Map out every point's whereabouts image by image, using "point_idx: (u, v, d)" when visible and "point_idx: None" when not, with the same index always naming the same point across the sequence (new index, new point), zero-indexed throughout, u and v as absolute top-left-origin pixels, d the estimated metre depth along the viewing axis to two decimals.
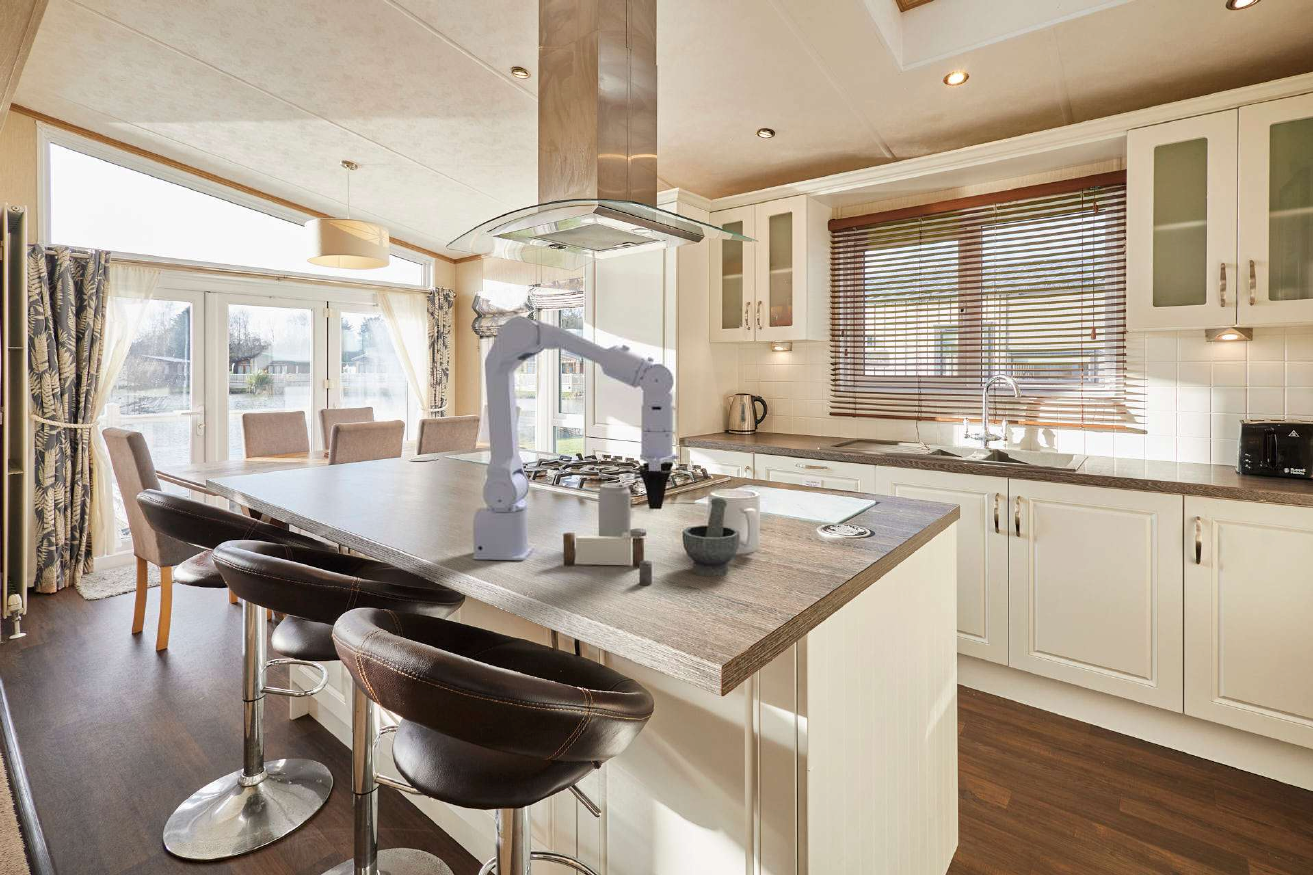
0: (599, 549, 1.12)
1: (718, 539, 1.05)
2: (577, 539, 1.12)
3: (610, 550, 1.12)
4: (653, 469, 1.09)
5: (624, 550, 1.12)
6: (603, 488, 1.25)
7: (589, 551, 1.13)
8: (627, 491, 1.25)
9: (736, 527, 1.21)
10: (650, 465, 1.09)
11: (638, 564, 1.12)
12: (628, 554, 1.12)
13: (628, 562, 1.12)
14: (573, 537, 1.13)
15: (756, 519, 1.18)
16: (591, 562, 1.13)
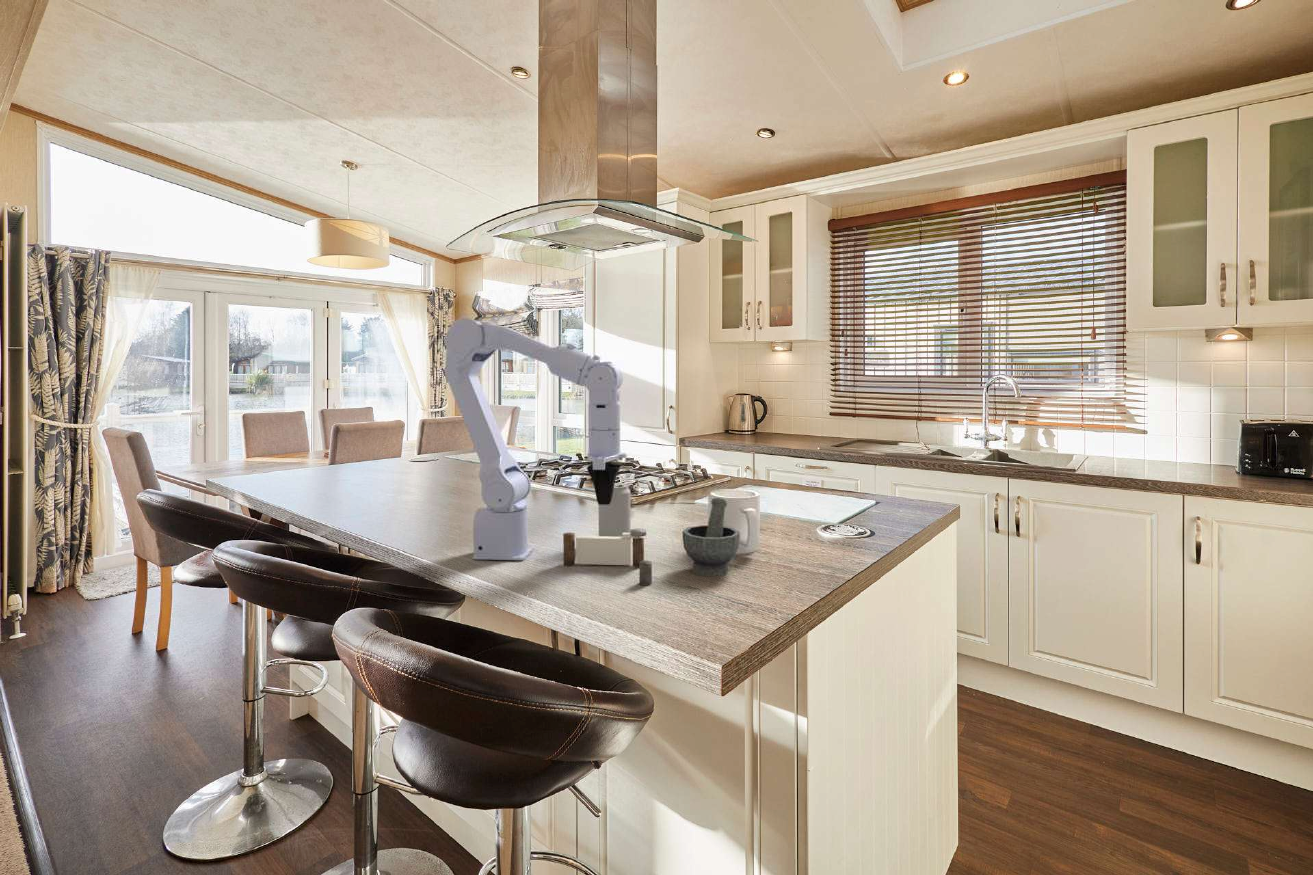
0: (599, 549, 1.12)
1: (718, 539, 1.05)
2: (577, 539, 1.12)
3: (610, 550, 1.12)
4: (597, 468, 1.08)
5: (624, 550, 1.12)
6: None
7: (589, 551, 1.13)
8: (627, 491, 1.25)
9: (736, 527, 1.21)
10: (594, 464, 1.08)
11: (638, 564, 1.12)
12: (628, 554, 1.12)
13: (628, 562, 1.12)
14: (573, 537, 1.13)
15: (756, 519, 1.18)
16: (591, 562, 1.13)
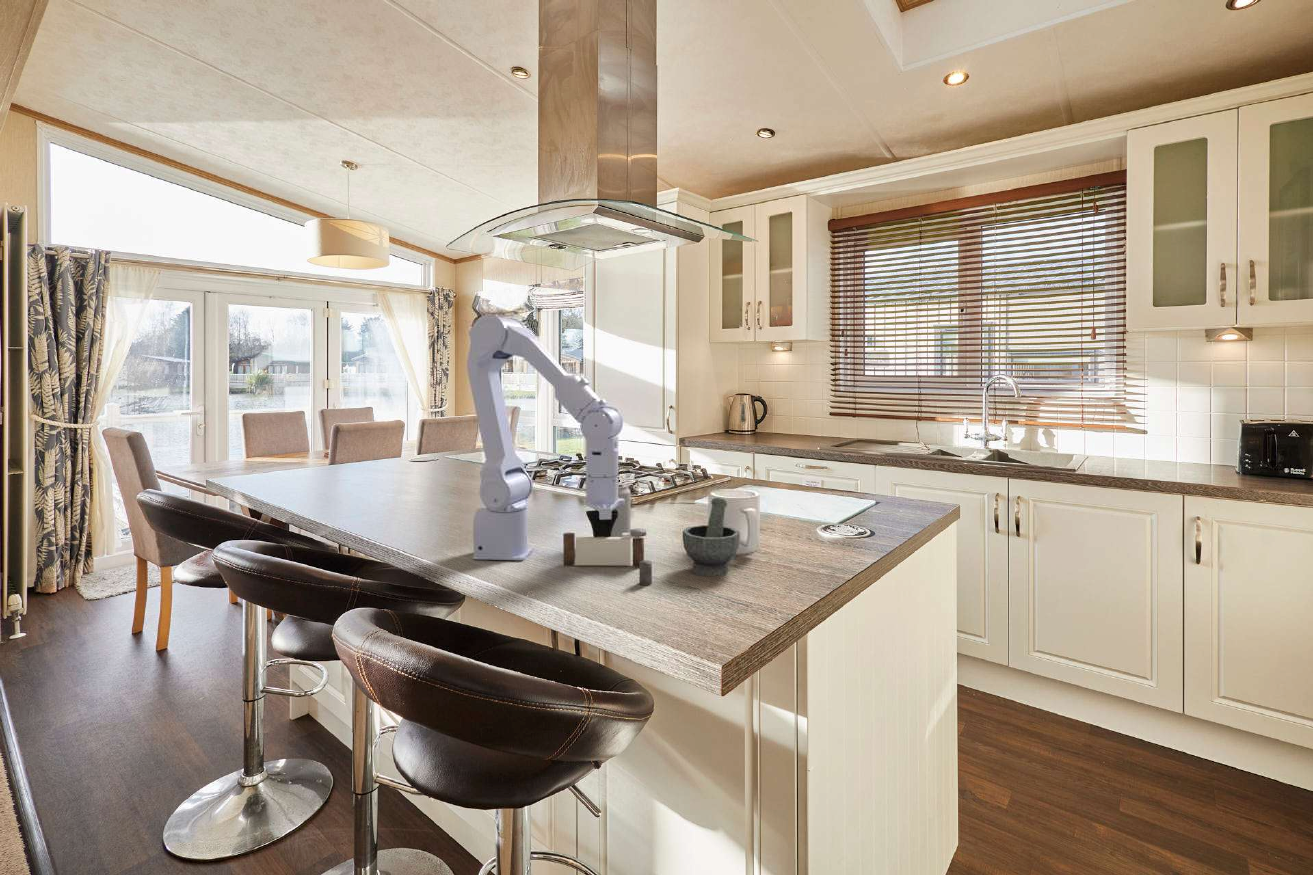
0: (599, 550, 1.12)
1: (718, 539, 1.05)
2: (577, 540, 1.12)
3: (610, 551, 1.12)
4: (604, 518, 1.06)
5: (624, 550, 1.12)
6: None
7: (589, 552, 1.12)
8: (627, 491, 1.25)
9: (736, 527, 1.21)
10: (601, 514, 1.06)
11: (638, 564, 1.12)
12: (628, 554, 1.12)
13: (628, 562, 1.12)
14: (573, 537, 1.13)
15: (756, 519, 1.18)
16: (591, 563, 1.12)
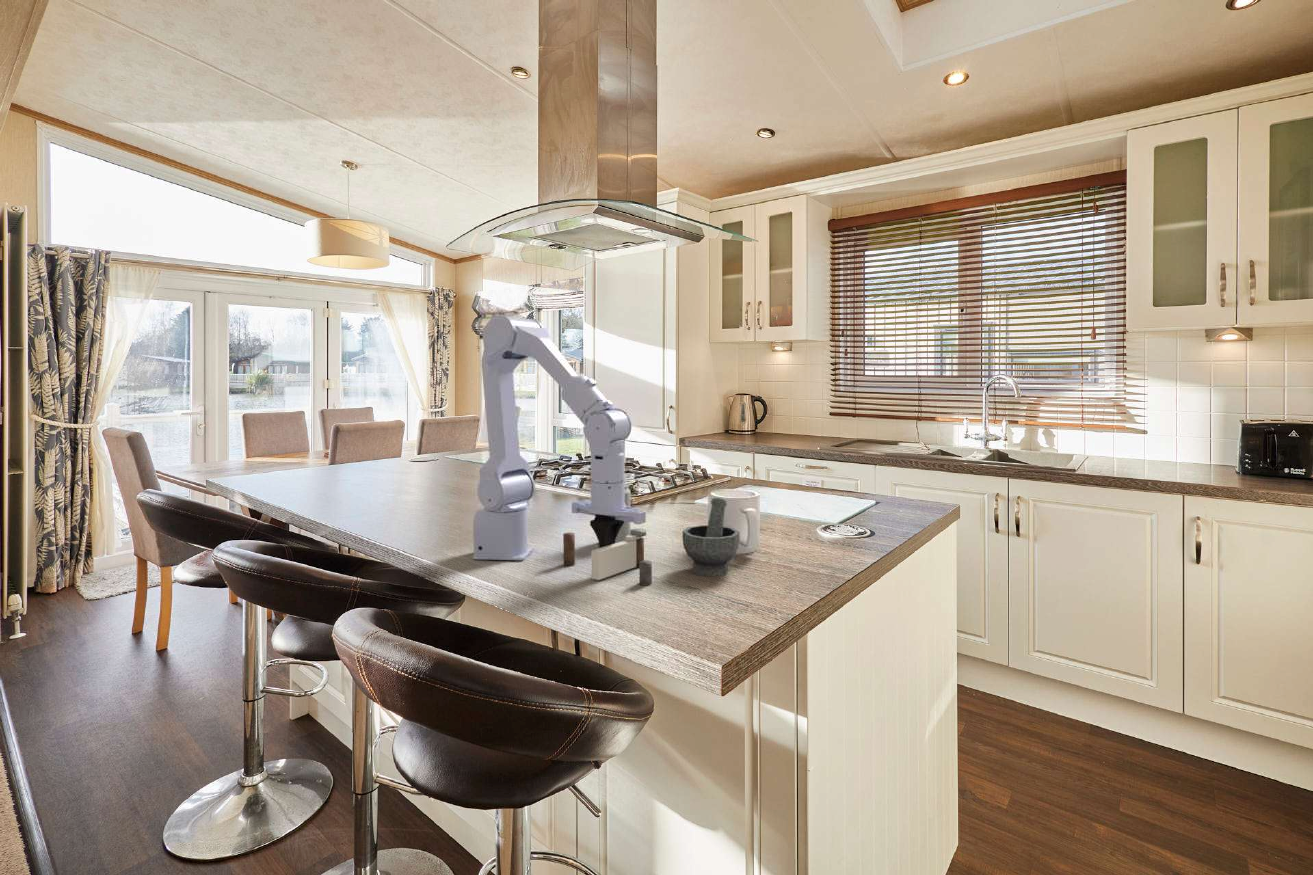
0: (615, 558, 1.07)
1: (718, 539, 1.05)
2: (599, 553, 1.04)
3: (623, 556, 1.09)
4: (641, 522, 1.04)
5: (632, 553, 1.10)
6: None
7: (608, 562, 1.06)
8: (627, 491, 1.25)
9: (736, 527, 1.21)
10: (639, 518, 1.03)
11: (638, 564, 1.12)
12: (635, 556, 1.11)
13: (635, 564, 1.11)
14: (573, 537, 1.13)
15: (756, 519, 1.18)
16: (609, 574, 1.06)
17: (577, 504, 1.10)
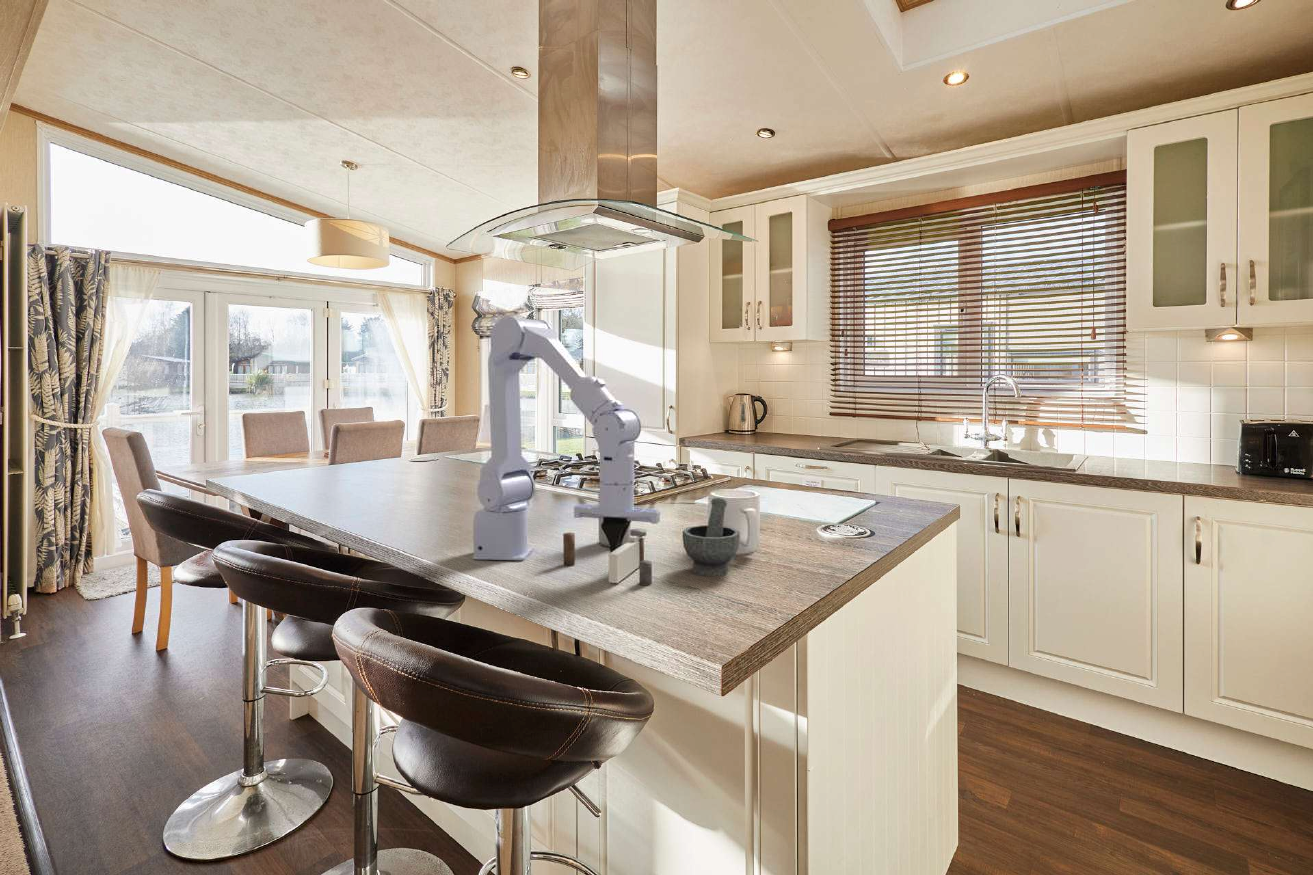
0: (627, 559, 1.06)
1: (718, 539, 1.05)
2: (618, 556, 1.02)
3: (631, 557, 1.08)
4: (658, 521, 1.04)
5: (637, 553, 1.10)
6: None
7: (623, 564, 1.05)
8: None
9: (736, 527, 1.21)
10: (657, 517, 1.04)
11: None
12: (638, 556, 1.11)
13: (638, 564, 1.11)
14: (573, 537, 1.13)
15: (756, 519, 1.18)
16: (623, 576, 1.05)
17: (582, 508, 1.07)
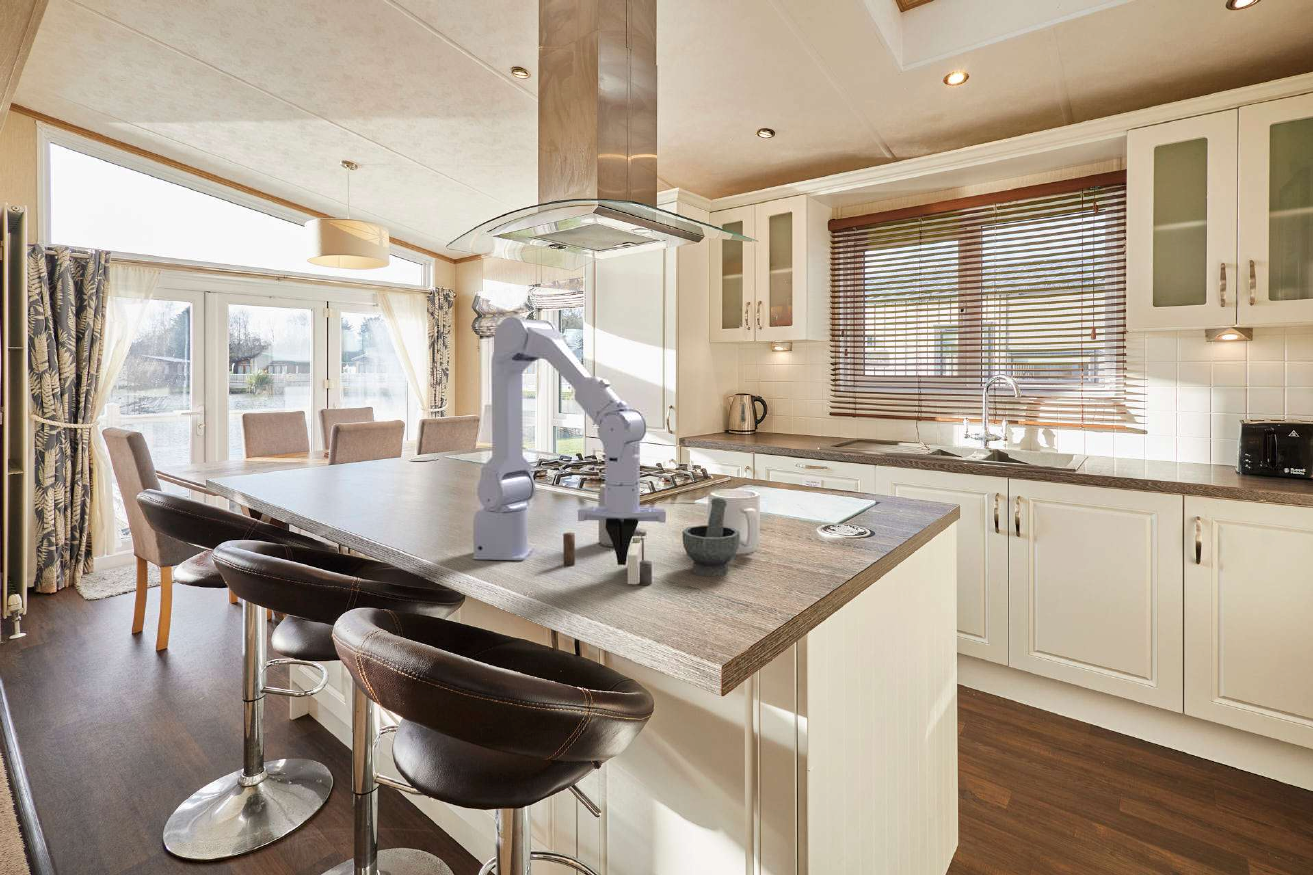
0: (639, 560, 1.06)
1: (718, 539, 1.05)
2: (637, 556, 1.02)
3: (640, 557, 1.08)
4: None
5: (641, 553, 1.10)
6: (603, 488, 1.25)
7: (638, 565, 1.04)
8: None
9: (736, 527, 1.21)
10: (665, 516, 1.05)
11: None
12: (641, 556, 1.11)
13: None
14: (573, 537, 1.13)
15: (756, 519, 1.18)
16: (638, 576, 1.05)
17: (586, 511, 1.05)
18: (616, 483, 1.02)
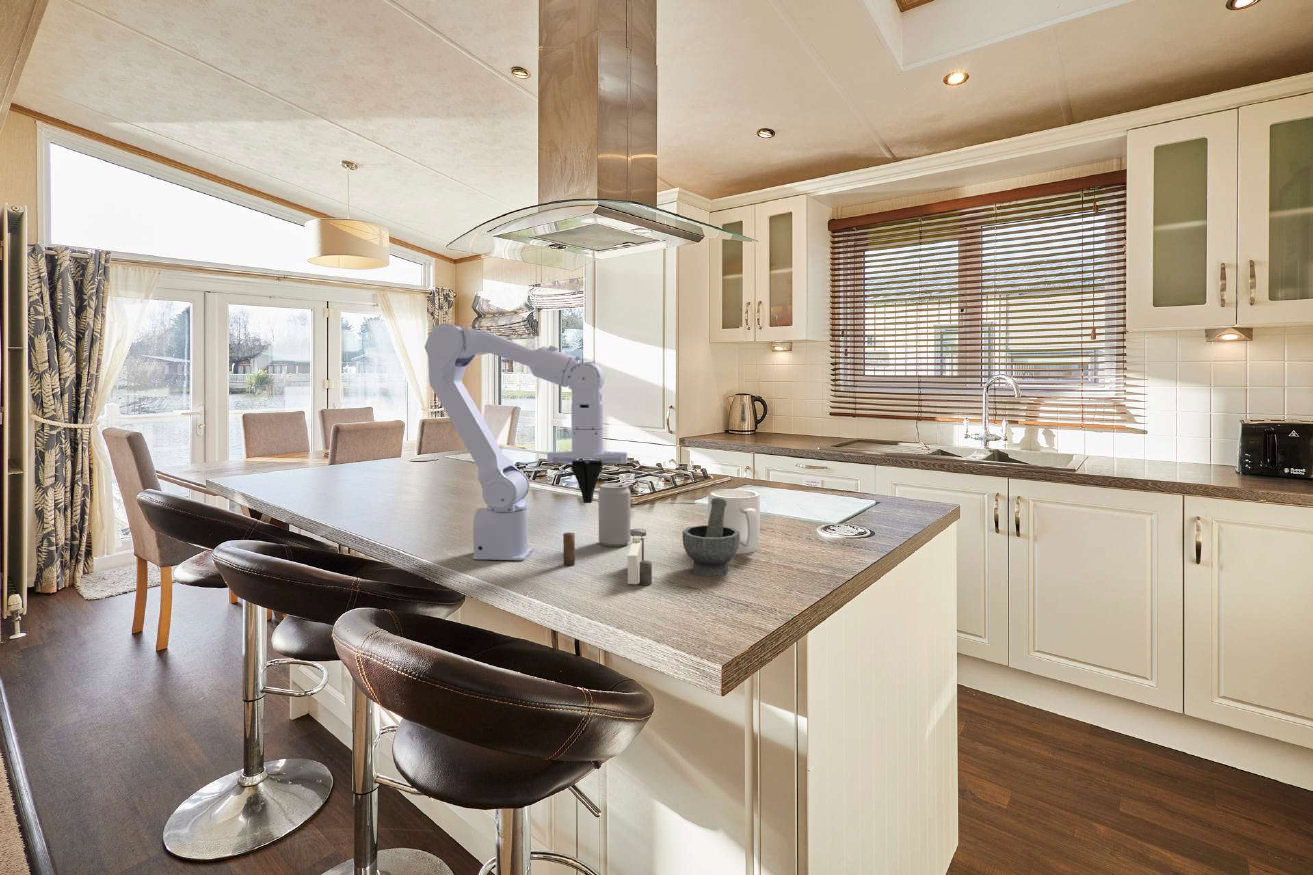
0: (639, 560, 1.06)
1: (718, 539, 1.05)
2: (637, 556, 1.02)
3: (640, 557, 1.08)
4: (626, 462, 1.16)
5: (641, 553, 1.10)
6: (603, 488, 1.25)
7: (638, 565, 1.04)
8: (627, 491, 1.25)
9: (736, 527, 1.21)
10: (626, 458, 1.15)
11: None
12: (641, 556, 1.11)
13: None
14: (573, 537, 1.13)
15: (756, 519, 1.18)
16: (638, 576, 1.05)
17: (555, 454, 1.16)
18: (588, 427, 1.13)
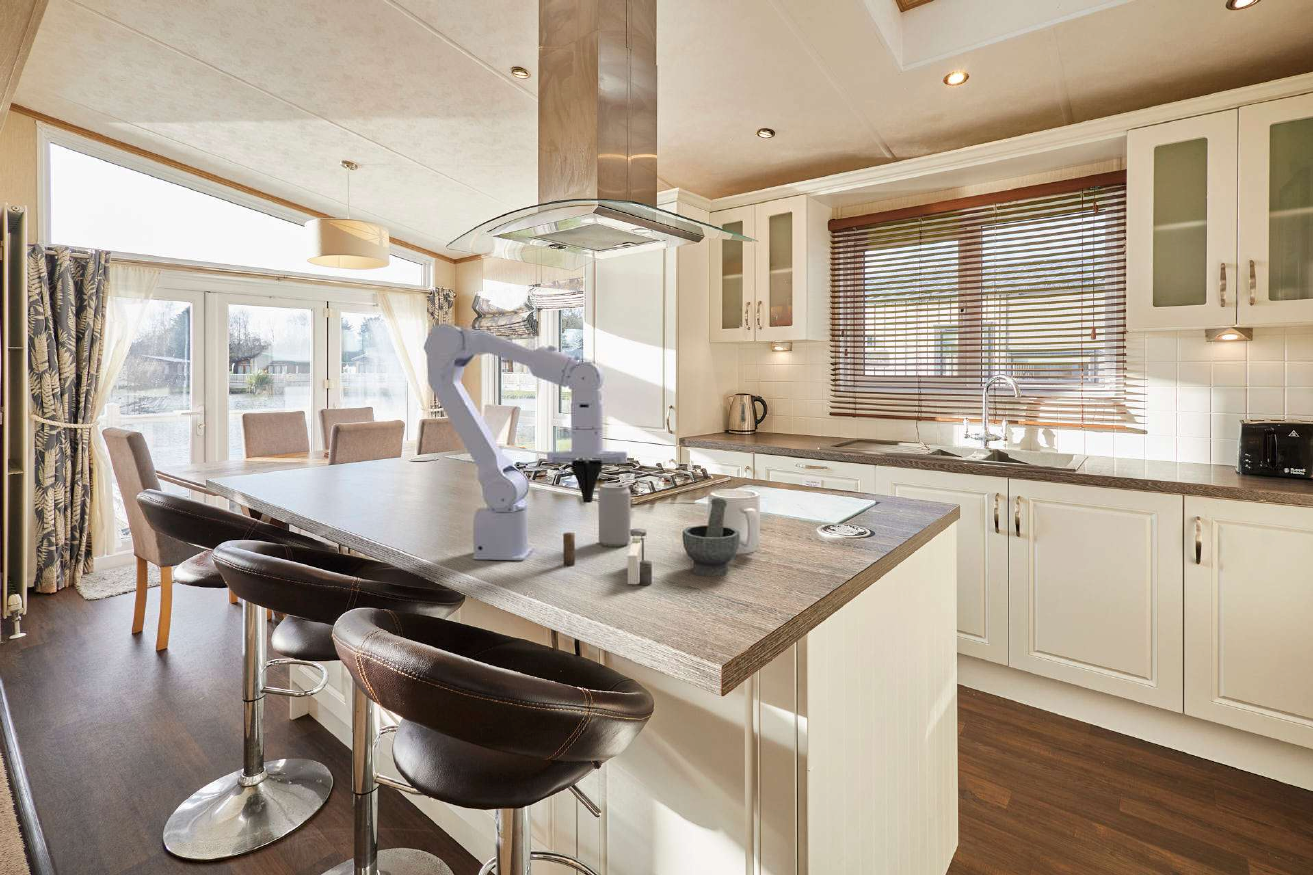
0: (639, 560, 1.06)
1: (718, 539, 1.05)
2: (637, 556, 1.02)
3: (640, 557, 1.08)
4: (626, 461, 1.16)
5: (641, 553, 1.10)
6: (603, 488, 1.25)
7: (638, 565, 1.04)
8: (627, 491, 1.25)
9: (736, 527, 1.21)
10: (626, 458, 1.16)
11: None
12: (641, 556, 1.11)
13: None
14: (573, 537, 1.13)
15: (756, 519, 1.18)
16: (638, 576, 1.05)
17: (555, 454, 1.16)
18: (588, 427, 1.13)
